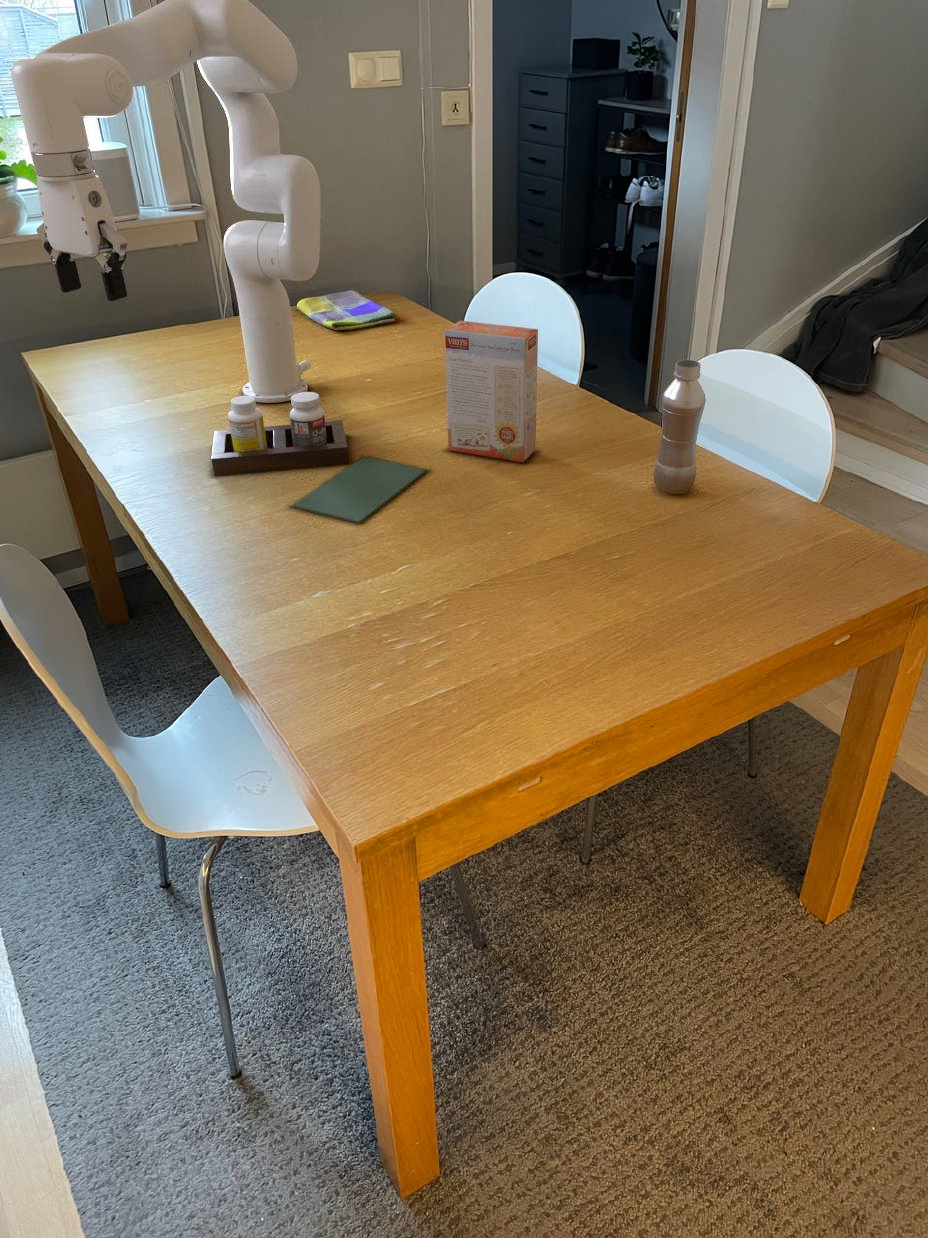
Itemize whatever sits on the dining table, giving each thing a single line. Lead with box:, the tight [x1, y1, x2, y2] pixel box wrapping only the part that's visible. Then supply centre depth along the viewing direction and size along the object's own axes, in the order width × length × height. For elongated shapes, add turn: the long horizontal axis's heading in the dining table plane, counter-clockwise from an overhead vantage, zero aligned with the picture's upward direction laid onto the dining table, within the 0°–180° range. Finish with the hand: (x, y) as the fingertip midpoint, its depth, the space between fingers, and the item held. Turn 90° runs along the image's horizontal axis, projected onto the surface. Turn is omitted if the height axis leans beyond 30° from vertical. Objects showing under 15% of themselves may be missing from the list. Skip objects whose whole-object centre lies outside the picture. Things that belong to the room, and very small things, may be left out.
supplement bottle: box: [227, 395, 268, 452], centre depth 154 cm, size 6×6×10 cm
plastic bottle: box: [653, 359, 707, 495], centre depth 139 cm, size 6×7×20 cm
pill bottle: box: [289, 391, 328, 447], centre depth 156 cm, size 6×6×10 cm
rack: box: [211, 419, 350, 477], centre depth 157 cm, size 12×22×3 cm, turn 100°
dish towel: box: [296, 289, 396, 331], centre depth 225 cm, size 18×24×3 cm
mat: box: [293, 456, 427, 524], centre depth 146 cm, size 20×12×1 cm, turn 152°
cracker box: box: [444, 320, 539, 463], centre depth 152 cm, size 14×6×21 cm, turn 65°
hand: (94, 294), depth 135 cm, fingers open, 9 cm apart
